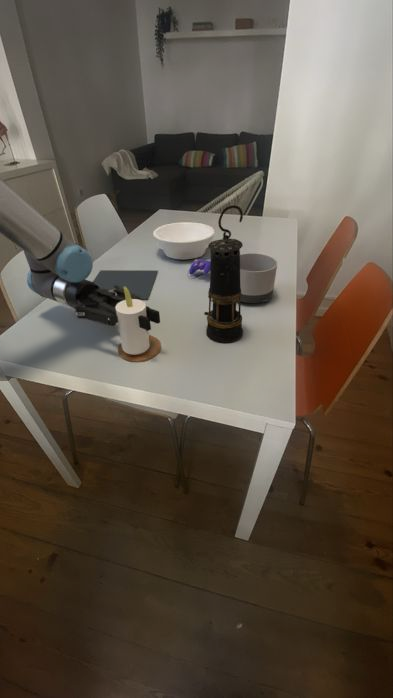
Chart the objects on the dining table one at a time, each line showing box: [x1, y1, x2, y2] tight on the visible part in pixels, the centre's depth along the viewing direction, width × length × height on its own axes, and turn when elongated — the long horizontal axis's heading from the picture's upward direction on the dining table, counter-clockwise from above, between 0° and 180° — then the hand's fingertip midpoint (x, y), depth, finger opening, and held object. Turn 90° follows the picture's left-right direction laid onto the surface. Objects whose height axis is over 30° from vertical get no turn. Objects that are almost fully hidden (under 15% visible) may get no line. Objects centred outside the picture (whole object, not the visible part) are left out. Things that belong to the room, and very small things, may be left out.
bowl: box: [152, 221, 216, 260], centre depth 118 cm, size 22×22×8 cm
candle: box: [116, 286, 150, 354], centre depth 69 cm, size 6×6×15 cm
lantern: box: [203, 204, 244, 344], centre depth 70 cm, size 9×9×30 cm
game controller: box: [187, 258, 211, 280], centre depth 103 cm, size 10×8×10 cm
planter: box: [240, 252, 278, 304], centre depth 90 cm, size 13×13×10 cm
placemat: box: [92, 269, 159, 301], centre depth 101 cm, size 20×20×1 cm
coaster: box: [117, 334, 162, 363], centre depth 75 cm, size 10×10×1 cm
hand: (153, 321), depth 66 cm, fingers closed on candle, 2 cm apart
